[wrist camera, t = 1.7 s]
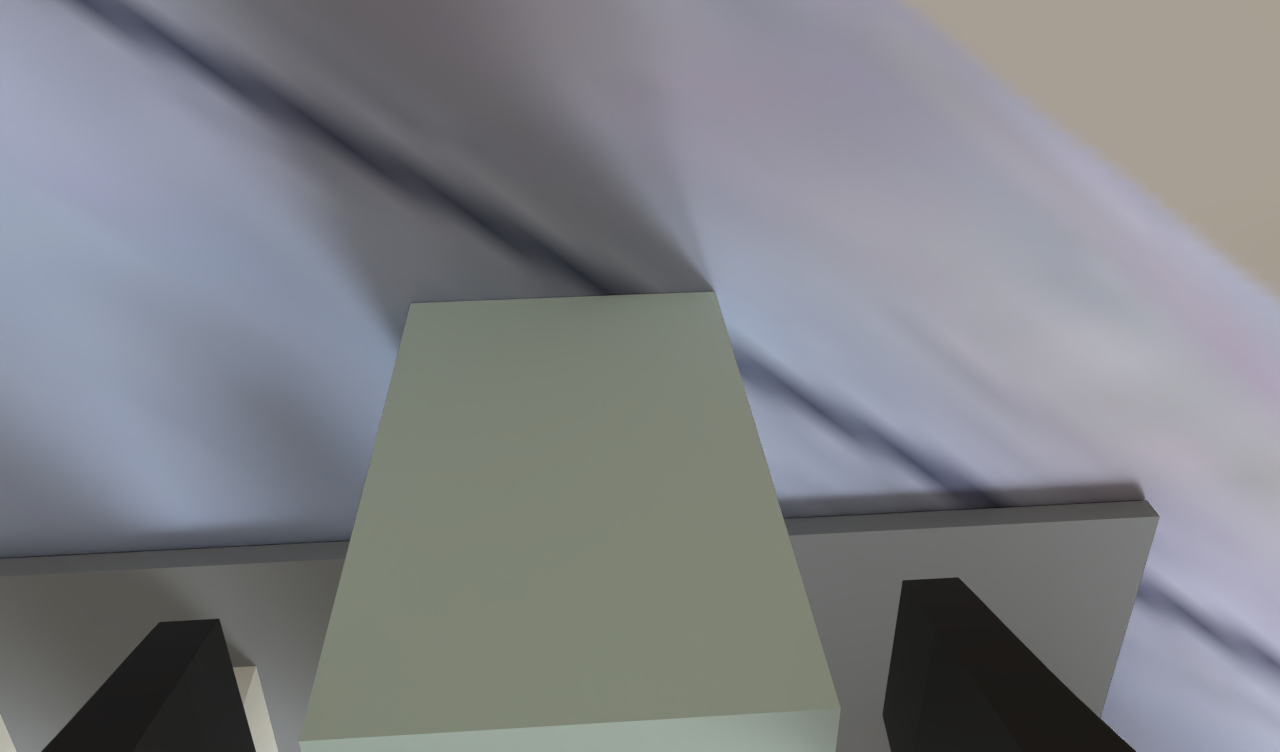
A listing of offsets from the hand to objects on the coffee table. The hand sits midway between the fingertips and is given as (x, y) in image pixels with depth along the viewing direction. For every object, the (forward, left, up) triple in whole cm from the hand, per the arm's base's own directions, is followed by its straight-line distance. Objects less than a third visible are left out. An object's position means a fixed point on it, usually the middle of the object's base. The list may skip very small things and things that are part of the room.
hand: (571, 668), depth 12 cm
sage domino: (0, 0, -8) cm, 8 cm away
